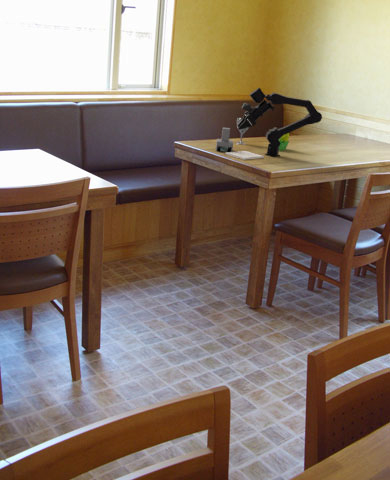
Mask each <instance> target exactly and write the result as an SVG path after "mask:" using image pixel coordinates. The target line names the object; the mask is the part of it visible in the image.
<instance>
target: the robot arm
mask: <svg viewBox="0 0 390 480" xmlns="http://www.w3.org/2000/svg"><path fill="white" fill-rule="evenodd" d="M249 97H250V98H251V99H252V101H253V102H254V103H255V104H257V106H256V105H255V106H254V107H253V106H252V105H251V104H250V103H246V102H244V103H242V104H243V105H242V106H241V109H243V110H245V112H244V114H243V117H242V118H243V119H242V120H241V122H240V123H239V124H238V125H237V124H236V127H237V126H238V127H239V128H237V129H238V131H239V130H241V129H244V128H247V127H249V128H250V127H255V125H256V124H257V121H258V119H260V118H261V117H263V115H264V114H266V113H267V112H268V111H269V110H270V111H272V112H274V111H275V110H274V109H275V105H290V106H296V107H302V108H305V109H306V111H307V113H308V114H307V115H305V116H304V117H302V118H300V119H299V120H296V121H294V122H292V123H289V124H288V125H285V126H283V127H281V128H278V127H276V126H275V127H273V128H271V129H268V131H266V134H265V138H266V140H267V141H268V145H267V149H266V150H267V151H266V153H264V155H265V156H269V157H273V158H274V157H281V155H280V154H279V152H280V151H279V146H280V144H281V142H280V141H279V139H280V138H281V137H282V136H283V135H285V134H287V133H289V134H290V133H292V132H294V131H297V130H298V129H301V128H303V127H305V126H307V125H313V124H317V123H320V122H321V121H322V119H323V115H322V113H321V112H319V111H318V110H317V109H316V107H315V106H314V105H313V102H312V101H311V100H309V99H302V98H298V97H297V98H296V97H289V96H285V95H282V94H280V93H277V92H271V93H270V94H265V93H264V92H263V90H262V89H261V87H258V88H257V89H255V90H253V91H251V92H250V93H249ZM266 100H267V101H266ZM272 104H273V105H272Z"/></svg>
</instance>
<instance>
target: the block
mask: <svg viewBox="0 0 390 480" xmlns="http://www.w3.org/2000/svg"><path fill="white" fill-rule="evenodd" d="M219 151H220V152H225V153H226V152H228V151H229V150H228V147H222V146H221V147H220V149H219Z"/></svg>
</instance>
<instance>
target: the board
mask: <svg viewBox="0 0 390 480" xmlns="http://www.w3.org/2000/svg"><path fill="white" fill-rule="evenodd" d="M225 155H226V156H229V157H233V158H237V159H240V160H244V161H245V160H256V159H257V160H258V159H264V158H265V156H264V155H261V154H257V153H254V152H250V151H248V150H241V151H232V152H231V151H230V152H225Z"/></svg>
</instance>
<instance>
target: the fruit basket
mask: <svg viewBox="0 0 390 480" xmlns="http://www.w3.org/2000/svg"><path fill="white" fill-rule="evenodd" d="M289 138H290V133H287V134H285V135H283V136H282V137H281V138H280V139H279V141H280V142H281V144H280V146H279V152H281V151H284V149H285V150H286V149H287V147H288V144H289V143H290V140H289Z"/></svg>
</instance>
